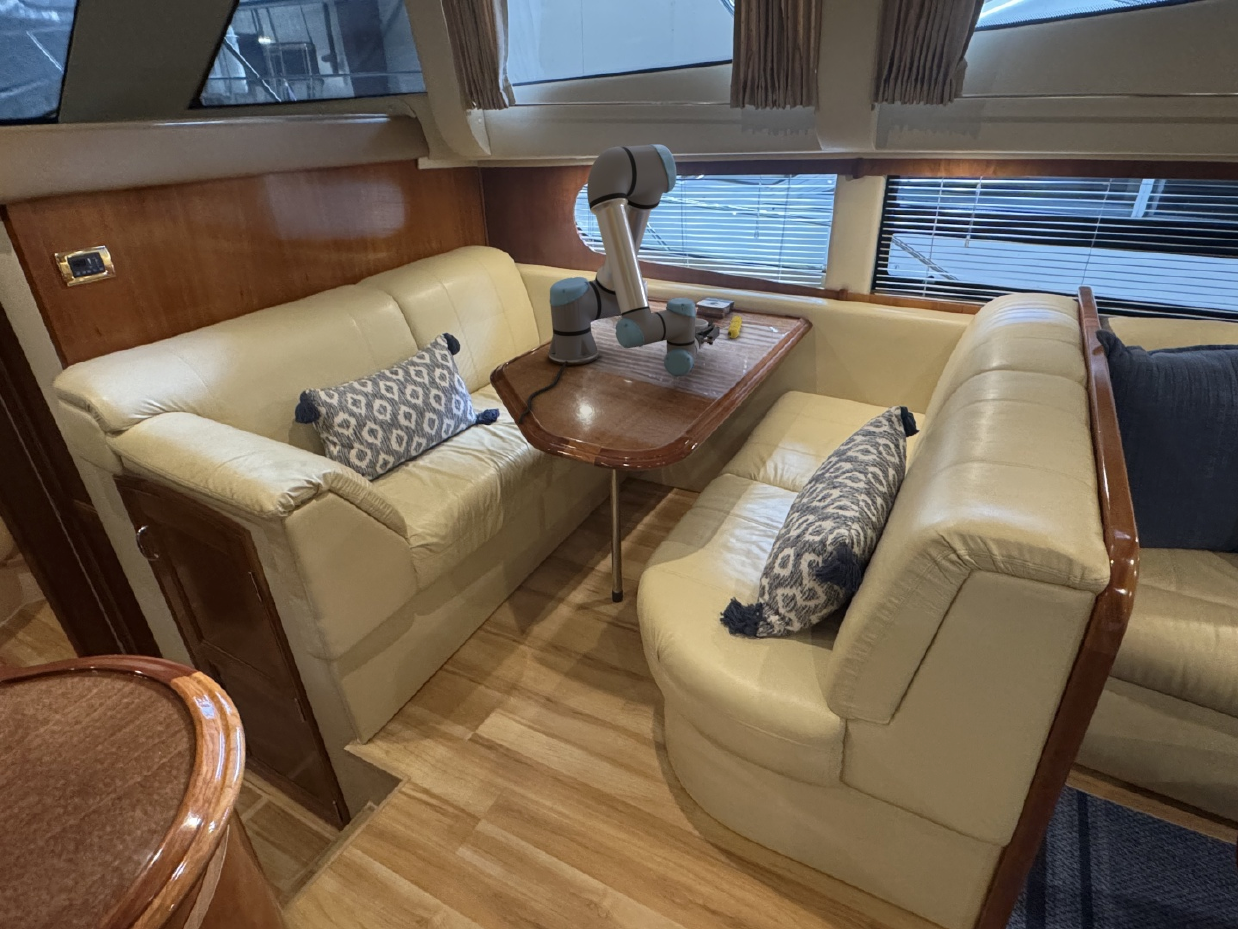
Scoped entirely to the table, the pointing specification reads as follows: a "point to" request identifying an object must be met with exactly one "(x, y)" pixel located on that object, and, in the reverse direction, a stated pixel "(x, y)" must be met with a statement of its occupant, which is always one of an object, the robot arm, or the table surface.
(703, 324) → the cup
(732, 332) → the yellow bumpy cylinder
